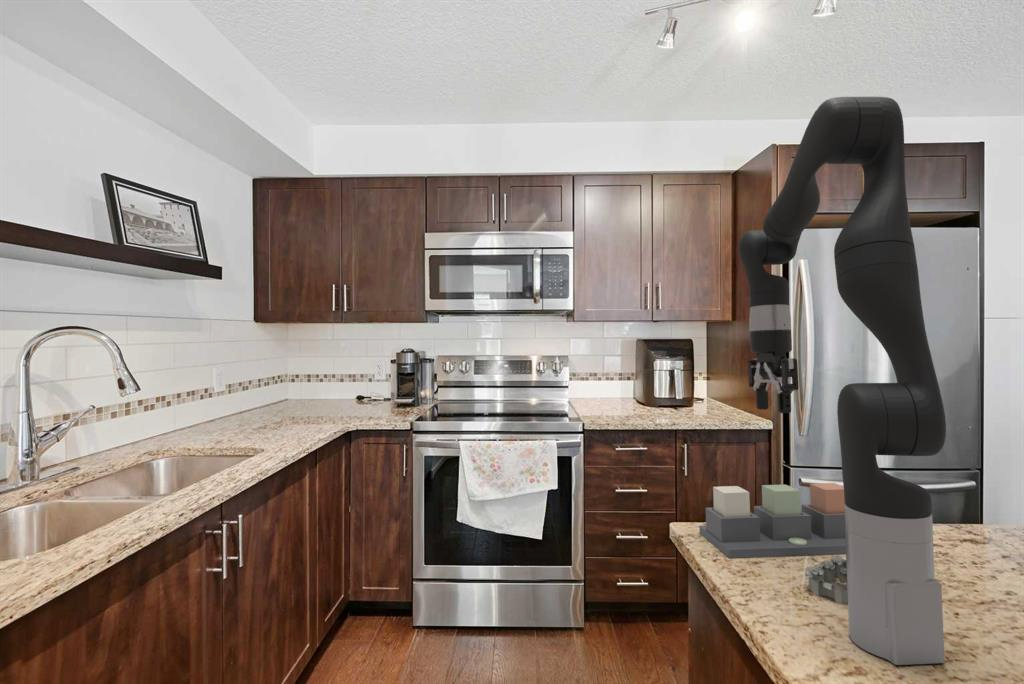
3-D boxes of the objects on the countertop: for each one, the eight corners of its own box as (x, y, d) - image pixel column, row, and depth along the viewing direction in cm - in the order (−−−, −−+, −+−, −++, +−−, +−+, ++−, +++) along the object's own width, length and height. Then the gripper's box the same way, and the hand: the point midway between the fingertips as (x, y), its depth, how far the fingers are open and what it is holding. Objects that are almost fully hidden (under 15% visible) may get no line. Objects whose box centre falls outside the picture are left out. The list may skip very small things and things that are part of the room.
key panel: (878, 552, 99) (877, 520, 99) (729, 558, 98) (728, 525, 98) (830, 528, 113) (829, 499, 113) (699, 532, 112) (698, 503, 112)
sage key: (801, 521, 104) (800, 490, 104) (775, 522, 104) (774, 491, 104) (786, 514, 109) (785, 484, 109) (762, 515, 109) (761, 485, 109)
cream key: (750, 523, 103) (749, 492, 104) (724, 524, 103) (723, 493, 103) (738, 515, 108) (737, 485, 109) (714, 516, 108) (713, 486, 108)
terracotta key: (851, 520, 104) (850, 489, 104) (826, 521, 104) (825, 489, 104) (835, 512, 109) (834, 483, 109) (811, 513, 109) (809, 483, 109)
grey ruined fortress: (848, 610, 78) (847, 582, 78) (799, 591, 85) (798, 565, 85) (887, 592, 84) (886, 565, 84) (838, 575, 90) (837, 551, 90)
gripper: (810, 326, 100) (813, 414, 100) (769, 330, 115) (771, 407, 114) (771, 327, 100) (774, 415, 99) (734, 331, 114) (737, 408, 114)
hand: (773, 410), depth 107 cm, fingers open, 7 cm apart
